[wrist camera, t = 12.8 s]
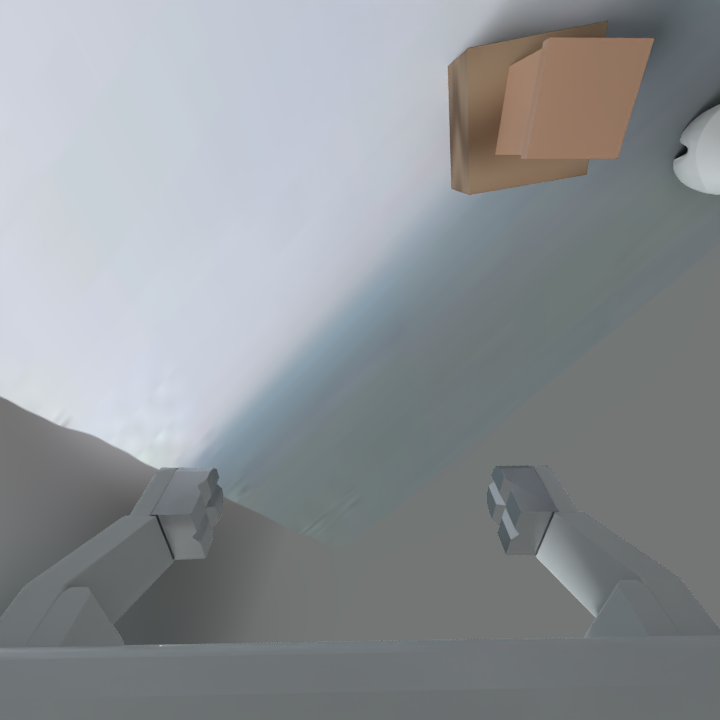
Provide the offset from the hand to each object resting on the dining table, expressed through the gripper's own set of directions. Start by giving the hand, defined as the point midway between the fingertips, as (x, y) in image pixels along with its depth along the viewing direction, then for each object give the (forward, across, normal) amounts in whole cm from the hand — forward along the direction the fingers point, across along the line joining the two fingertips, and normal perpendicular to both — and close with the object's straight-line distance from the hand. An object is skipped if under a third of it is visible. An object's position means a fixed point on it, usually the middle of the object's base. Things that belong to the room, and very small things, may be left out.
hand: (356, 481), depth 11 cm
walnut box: (+29, -13, -11) cm, 34 cm away
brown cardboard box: (+23, -13, -11) cm, 29 cm away
